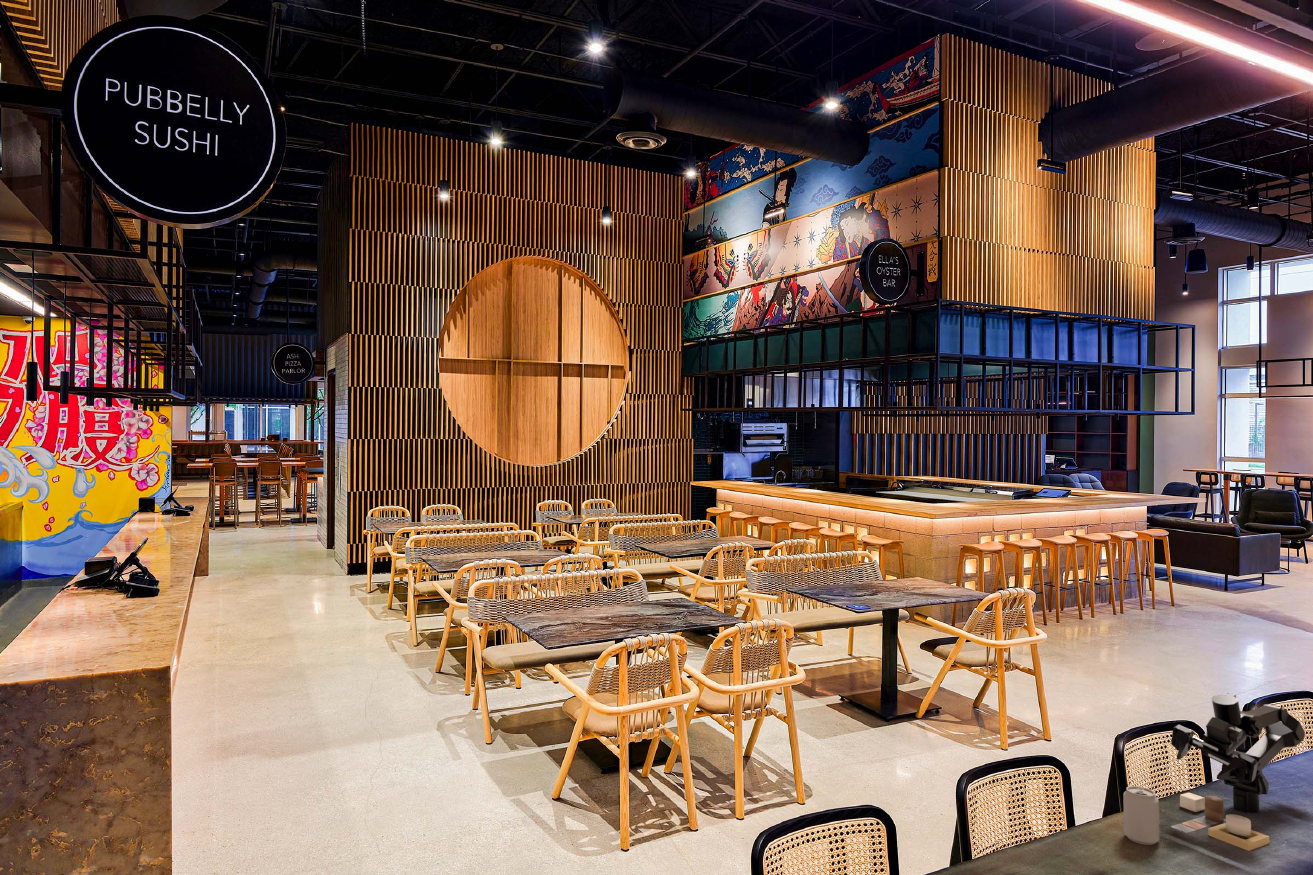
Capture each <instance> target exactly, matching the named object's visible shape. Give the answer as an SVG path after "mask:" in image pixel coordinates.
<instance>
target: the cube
mask: <svg viewBox="0 0 1313 875" xmlns="http://www.w3.org/2000/svg"><path fill="white" fill-rule="evenodd" d="M1179 806H1180V807H1181V808H1184V809H1186V810H1189V811H1191V812H1194V813H1197V812H1200V811H1203V810H1204V811H1205V797H1204V796H1200V795H1197V794H1194V793H1191V792H1189V791H1188V792H1185V793H1182V794H1180V795H1179Z"/></svg>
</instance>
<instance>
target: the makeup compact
mask: <svg viewBox="0 0 1313 875" xmlns="http://www.w3.org/2000/svg"><path fill="white" fill-rule="evenodd" d="M1224 822H1226V818H1224V821H1222V822H1217V821H1212V820H1209V819H1207V818H1206V817H1205V815H1203V816H1200V817H1196V818H1193V819H1191V820H1186V821H1184V822H1181V823H1177V824H1174V825H1170V828H1172V829H1174V830H1177V831H1180V832H1183V833H1186V834H1189V833H1191V832H1195V831H1198V830H1200V829H1204V828H1207V827H1210V826H1213V825H1214V826H1215V825H1217V824H1219V823H1220V824H1221V823H1224Z"/></svg>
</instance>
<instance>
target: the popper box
mask: <svg viewBox="0 0 1313 875" xmlns="http://www.w3.org/2000/svg"><path fill="white" fill-rule="evenodd" d="M1207 832H1208V833H1207V835H1208V836H1209V837H1211V838H1214V839H1216V840H1219V841H1222V842H1224V843H1227V844H1230V845H1232V846H1235V847H1238V848H1241V849H1243V850H1244V851H1245V850H1246V851H1249V852H1250V851H1252V850H1254V849H1258V848H1260V847H1263V846H1265V845H1268V844H1270V836H1269V835H1266V834H1264V833H1261V832H1259V831H1255V830H1253V829H1251V835H1249V836H1243V837H1245V838H1247V839H1244V838H1242V837H1241V838H1240V837H1239V836H1236V835H1233V834H1232V833H1231V832H1229V831H1227V830H1226V822H1223V823H1222V824H1221V823H1220V824H1218V825H1217V824H1216V825H1214V826H1212V827H1209V828H1207Z"/></svg>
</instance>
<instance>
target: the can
mask: <svg viewBox="0 0 1313 875" xmlns="http://www.w3.org/2000/svg"><path fill="white" fill-rule="evenodd" d="M1125 789H1126V790H1125V791H1124V792H1123V795H1122V796H1123V797H1122V798H1123V802H1122V803H1123V833H1124V835H1125V836H1126V837H1127V839H1129V841H1132V842H1134V843H1136V844H1140V845H1145V846H1152V845H1155V844H1156V843H1158V842H1159V841H1160V805H1159V804H1160V802H1159V798H1158V797H1157V796H1156V792H1155V791H1153V790H1152V789H1150V788H1148V787H1147V788H1146V787H1144V786H1139V785H1138V786H1137V785H1130V786H1127V787H1126V788H1125Z"/></svg>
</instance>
